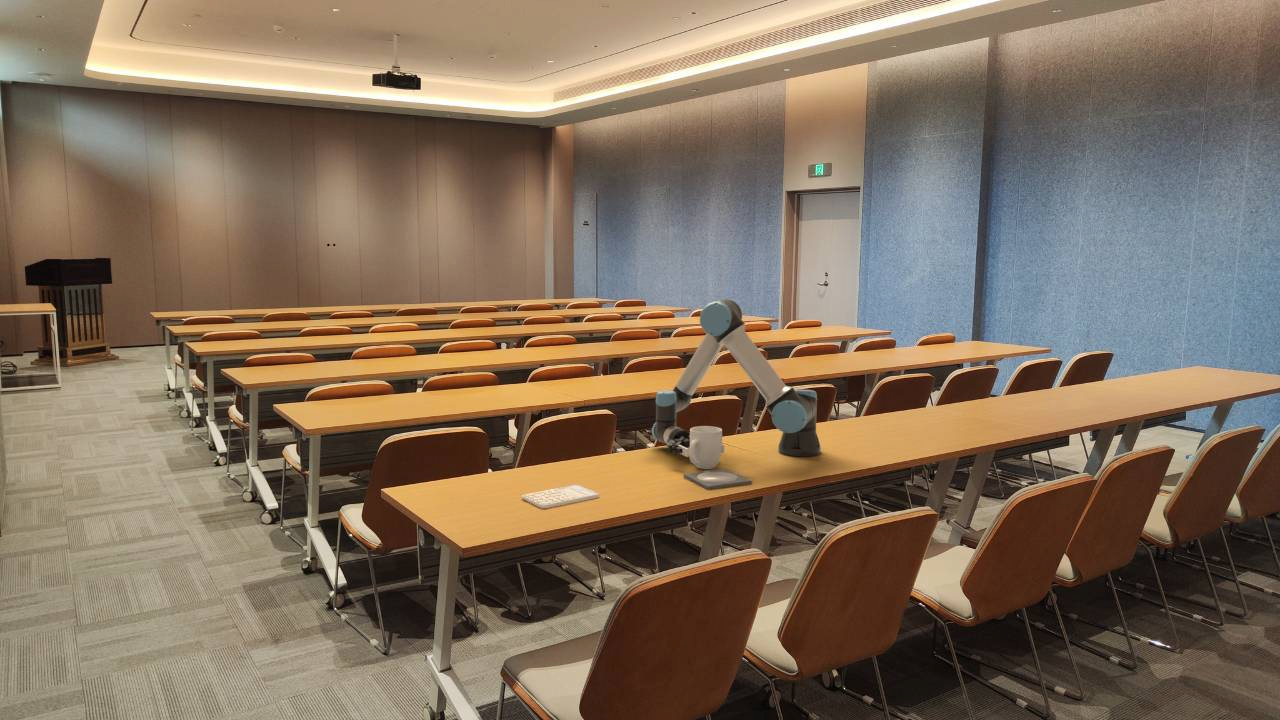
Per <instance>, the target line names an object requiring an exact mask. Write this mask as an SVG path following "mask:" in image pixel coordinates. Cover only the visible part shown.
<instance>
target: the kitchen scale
mask: <svg viewBox="0 0 1280 720" xmlns="http://www.w3.org/2000/svg"><path fill="white" fill-rule="evenodd" d="M683 478H685V479H686V480H688V481H690V482H692V483H694V484H696V485H697V486H700V487H701V488H703V489H705V490H713V489H714V490H715V489H716V490H717V489H722V488H729V487H737V486H744V485H752V483H753V482H752V481H753V480H751V479H750V478H748V477H745V476H743V475H741V474H739V473H736V472H735V471H732V470H731V469H728V468H724V469H723V468H722V469H715V470H714V469H713V470H706V471H700V472H699V471H698V472H689V473H683Z"/></svg>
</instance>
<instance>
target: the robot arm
mask: <svg viewBox="0 0 1280 720" xmlns="http://www.w3.org/2000/svg"><path fill="white" fill-rule="evenodd" d="M742 319H743V311H742V308H741V307H740V305H739V304H738V303H736V302H735V301H734V300H732V299H721V300H715V301H711V302H710V303H708V304H706V305H705V306H703V308H702V310H701V312H700V316H699V323H700V327H701V328H702V330H703V332H704V333H706V334H705V335H704V337H703V339H702V340H701V342H700V344H699V346H698V347H697V349H696V350H695V351H694V354H693V355H692V357H691V358H690V360H689V362H688V364H687V365H686V367H685V369H684V370H683V373H682V374H681V375H680V377H679V378H678V381H677V382H676V385H675V386H674V388H672V390H669V389H667V390H663V389H662V390H659V391H657V392H656V394H655V395H656V396H655V423H653V425H652V428H651V434H652V437H653V438H654V439H655V440H657V441H658V442H659V443H662V444H665V445H666V447H667V448H668V453H669V454H672V453H673V455H675V456H677V455H678V454H679V455H682V456H684V457H685V458H688V457H689V447H690V431H687V430H685V429H684V428H681V427H679V426H677V413H679V412H680V411H682V410H683V411H684V410H685V409H687V408H688V407H689V405H691V402H692V397H693V395H694V393H695V392H696V391H697V389H698V388H699V385H700V384H701V382H702V380H703V379H704V377H705V376H706V374H707V372H708V371H709V369H710V367H711V366H712V364H713V362H714V361H715V359H716V358H717V356H718V354H719V353H720V351H721V349H722V348H723V346H725V348H726V349H727V350H728V352H729V353H730V354H731V356H732V357H733V359H735V361H736V362H737V363H738V365H739V366H740V367H741V368H742V370H743V371H744V373H745V374H746V375H747V377H748V378H749V380H750V381H751V382H752V383H753V386H754V387H755V388H756V389H757V390H758V391H759V393H760V394H761V396H762V397H763V398H764V400H765V408H766V409H767V411H768V412H769V414H770V415H771V421H772V423H773V426H775V428H776V429H777V430H778V431H781V432H782V435H781V438H780V441H779V444H778V453H780V454H783V455H786V456H793V457H812V456H817V455H819V454H821V443H820V440H819V437H818V434H817V433H818V432H817V409H818V408H817V406H818V405H817V403H818V395H817V391H815V390H813V389H795V388H794V387H793V386H789V385H786V384H785V382H784V381H783V380H782V378H780V376H779V375H778V373H777V372H776V370H775V369H774V368H773V367H772V365H771V363H769V362H768V360H767V358H766V357H765V356H764V354H763V353H762V352H761V351H760V350H759V348H758V346H757V345H756V344H755V342H753V340H752V339H751V338H750V336H749V335H748V333H747V331H746V323H745V322H744V321H743V320H742ZM724 453H725V444H723V443H722V451H721V454H724Z"/></svg>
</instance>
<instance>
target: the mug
mask: <svg viewBox="0 0 1280 720" xmlns="http://www.w3.org/2000/svg"><path fill="white" fill-rule="evenodd" d="M689 433H690V447H688V449H689V460H690V463H692V464H693V465H694V466H695V467H696V468H697V469H699V470H700V469H701V470H711V469H713V470H714V468H716V467H717V466H718V463H719V462H720V459H721V456H722V455H721V454H722V453H721V451H722V444H723V429H722V428H721V427H718V426H711V425H700V426H699V425H697V426H693V427H691V428H690V429H689Z"/></svg>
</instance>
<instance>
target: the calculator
mask: <svg viewBox="0 0 1280 720" xmlns="http://www.w3.org/2000/svg"><path fill="white" fill-rule="evenodd" d="M597 498H600V494H599V492H597V491H595V490H592V489H589V488H587V487H584V486H582V485H579V484H573V485H572V484H571V485H567V486H561V487H556V488H551V489H546V490H541V491H535V492H530V493H526V494H522V495H521V500H523V499H524V500H526V501H525V502H527V501H528V502H527V503H529V502H530V503H529V504H531V503H532V504H531V505H533V504H534V506H535V505H536V506H535V507H537V506H538V507H537V508H539V507H540V508H539V509H542V508H547V509H550V507H552V508H556V507H559V506H560V505H561V506H566V505H571V504H573V503H580V502H583V501H585V502H586V501H589V500H593V499H597ZM524 500H523V501H524ZM555 506H556V507H555ZM561 506H560V507H561Z"/></svg>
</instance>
